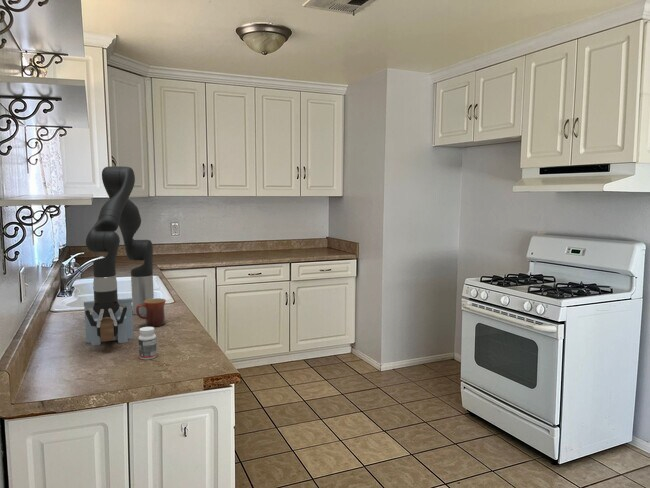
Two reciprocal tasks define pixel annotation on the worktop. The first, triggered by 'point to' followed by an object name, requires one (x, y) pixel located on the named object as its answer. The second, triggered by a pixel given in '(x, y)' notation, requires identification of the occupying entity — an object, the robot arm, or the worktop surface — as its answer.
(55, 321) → the worktop surface
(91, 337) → the grey two-legged bench
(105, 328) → the bed rail
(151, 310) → the mug
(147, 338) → the pill bottle
